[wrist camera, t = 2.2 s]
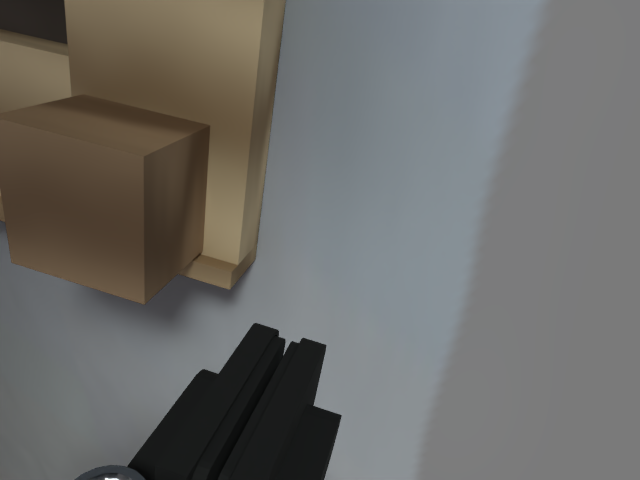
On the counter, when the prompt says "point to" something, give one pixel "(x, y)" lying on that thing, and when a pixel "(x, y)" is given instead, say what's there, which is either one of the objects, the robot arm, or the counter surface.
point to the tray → (164, 89)
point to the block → (103, 193)
